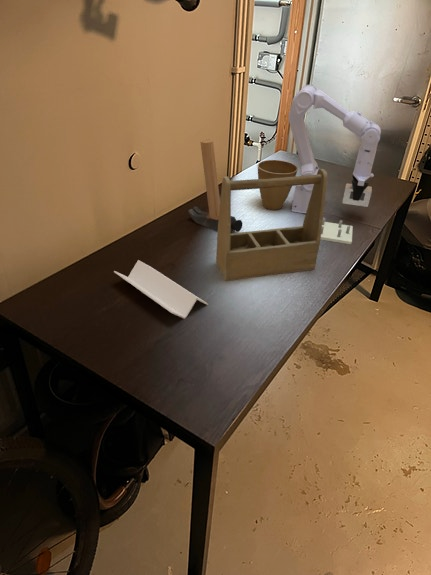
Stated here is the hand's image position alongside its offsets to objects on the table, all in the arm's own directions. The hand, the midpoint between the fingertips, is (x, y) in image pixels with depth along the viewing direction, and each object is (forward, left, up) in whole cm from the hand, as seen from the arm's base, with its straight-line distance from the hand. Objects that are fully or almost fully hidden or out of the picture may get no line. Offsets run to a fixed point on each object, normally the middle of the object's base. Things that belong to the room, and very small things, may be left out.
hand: (355, 197), depth 157 cm
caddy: (-25, -44, -9) cm, 51 cm away
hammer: (-47, -24, -9) cm, 53 cm away
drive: (0, 0, -2) cm, 2 cm away
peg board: (-7, -15, -8) cm, 18 cm away
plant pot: (-30, 0, -9) cm, 31 cm away
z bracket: (-50, -67, -9) cm, 84 cm away
